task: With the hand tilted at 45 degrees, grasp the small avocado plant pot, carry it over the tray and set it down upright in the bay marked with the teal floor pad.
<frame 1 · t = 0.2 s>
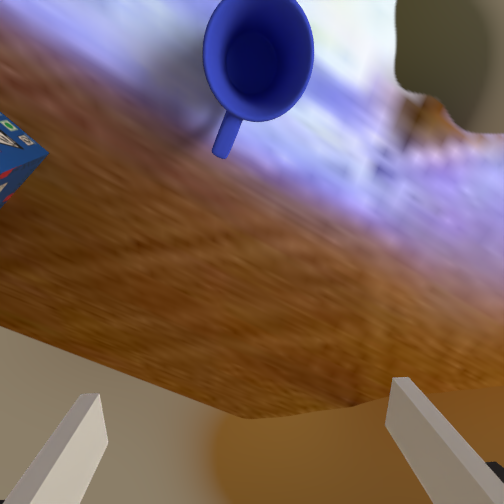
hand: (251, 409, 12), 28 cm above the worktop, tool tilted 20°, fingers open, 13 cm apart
mug: (243, 84, 29), on the worktop
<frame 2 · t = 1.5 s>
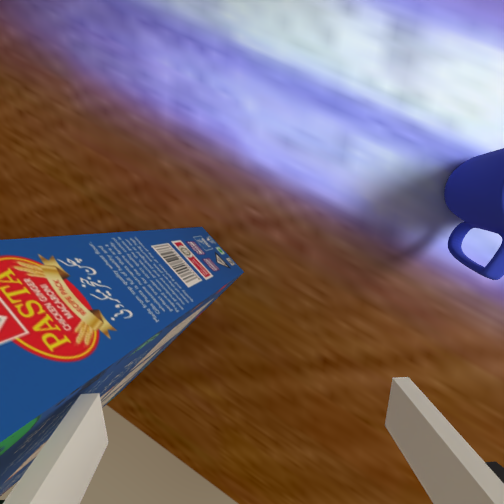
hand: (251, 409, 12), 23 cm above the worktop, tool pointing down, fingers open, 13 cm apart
pasta box: (158, 316, 38), on the worktop
mug: (462, 205, 30), on the worktop
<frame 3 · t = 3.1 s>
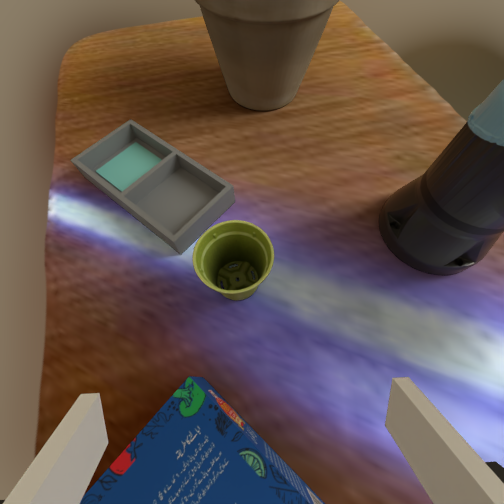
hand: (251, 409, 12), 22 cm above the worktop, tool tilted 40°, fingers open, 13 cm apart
tray: (157, 189, 46), on the worktop
plant pot 2: (237, 280, 39), on the worktop
plant pot: (263, 89, 58), on the worktop
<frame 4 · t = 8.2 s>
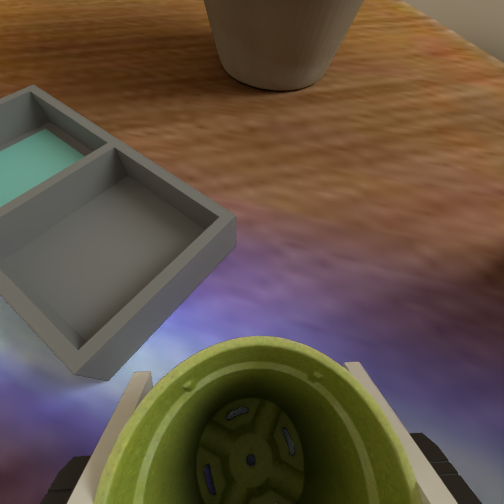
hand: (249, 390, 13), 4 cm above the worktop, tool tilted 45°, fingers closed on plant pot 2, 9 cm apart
tray: (76, 217, 22), on the worktop
plant pot 2: (249, 455, 15), on the worktop, touching gripper
plant pot: (274, 64, 37), on the worktop
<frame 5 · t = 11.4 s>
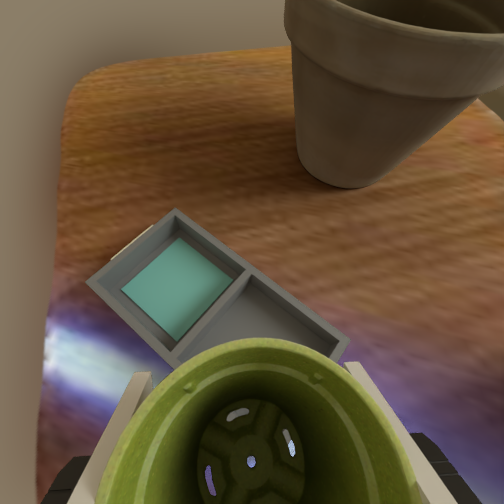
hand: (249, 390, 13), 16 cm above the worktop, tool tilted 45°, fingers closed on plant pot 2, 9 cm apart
tray: (216, 319, 30), on the worktop
plant pot 2: (250, 456, 15), point 12 cm above the worktop, touching gripper
plant pot: (341, 155, 44), on the worktop
when the fingers open (7 cm above the worktop, at t = 14.8 s): plant pot 2 drops 2 cm, resting on tray.
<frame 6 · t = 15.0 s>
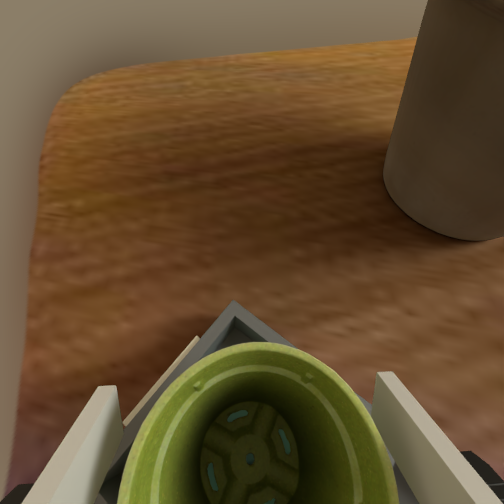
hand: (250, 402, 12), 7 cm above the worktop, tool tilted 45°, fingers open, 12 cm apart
plant pot 2: (248, 455, 16), point 1 cm above the worktop, touching tray
plant pot: (444, 188, 31), on the worktop
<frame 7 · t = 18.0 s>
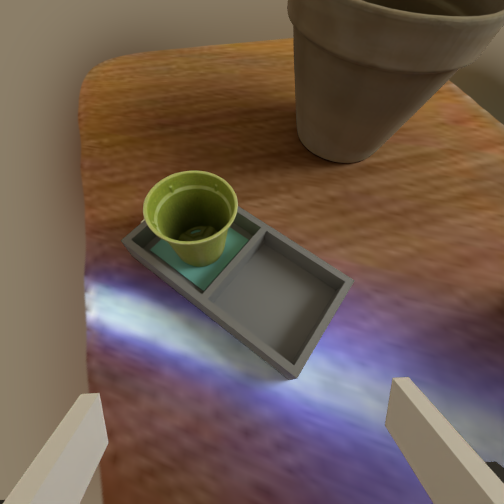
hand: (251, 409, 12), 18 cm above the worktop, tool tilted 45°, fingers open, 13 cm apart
tray: (236, 274, 34), on the worktop
plant pot 2: (200, 246, 35), point 1 cm above the worktop, touching tray
plant pot: (336, 135, 49), on the worktop
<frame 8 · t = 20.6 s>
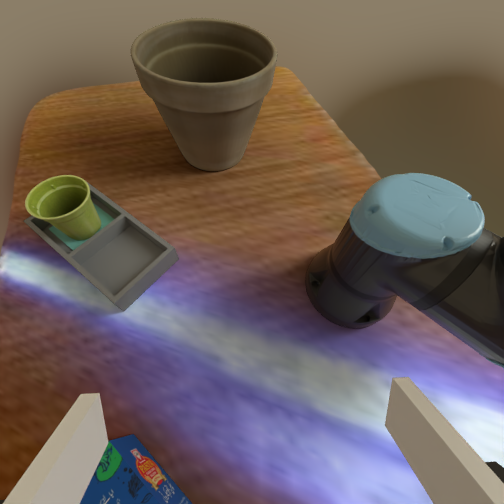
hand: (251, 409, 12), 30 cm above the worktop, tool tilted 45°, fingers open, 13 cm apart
tray: (107, 246, 50), on the worktop
plant pot 2: (85, 227, 50), point 1 cm above the worktop, touching tray
plant pot: (214, 150, 64), on the worktop
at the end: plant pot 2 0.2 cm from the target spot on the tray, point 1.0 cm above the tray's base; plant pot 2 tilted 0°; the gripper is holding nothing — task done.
